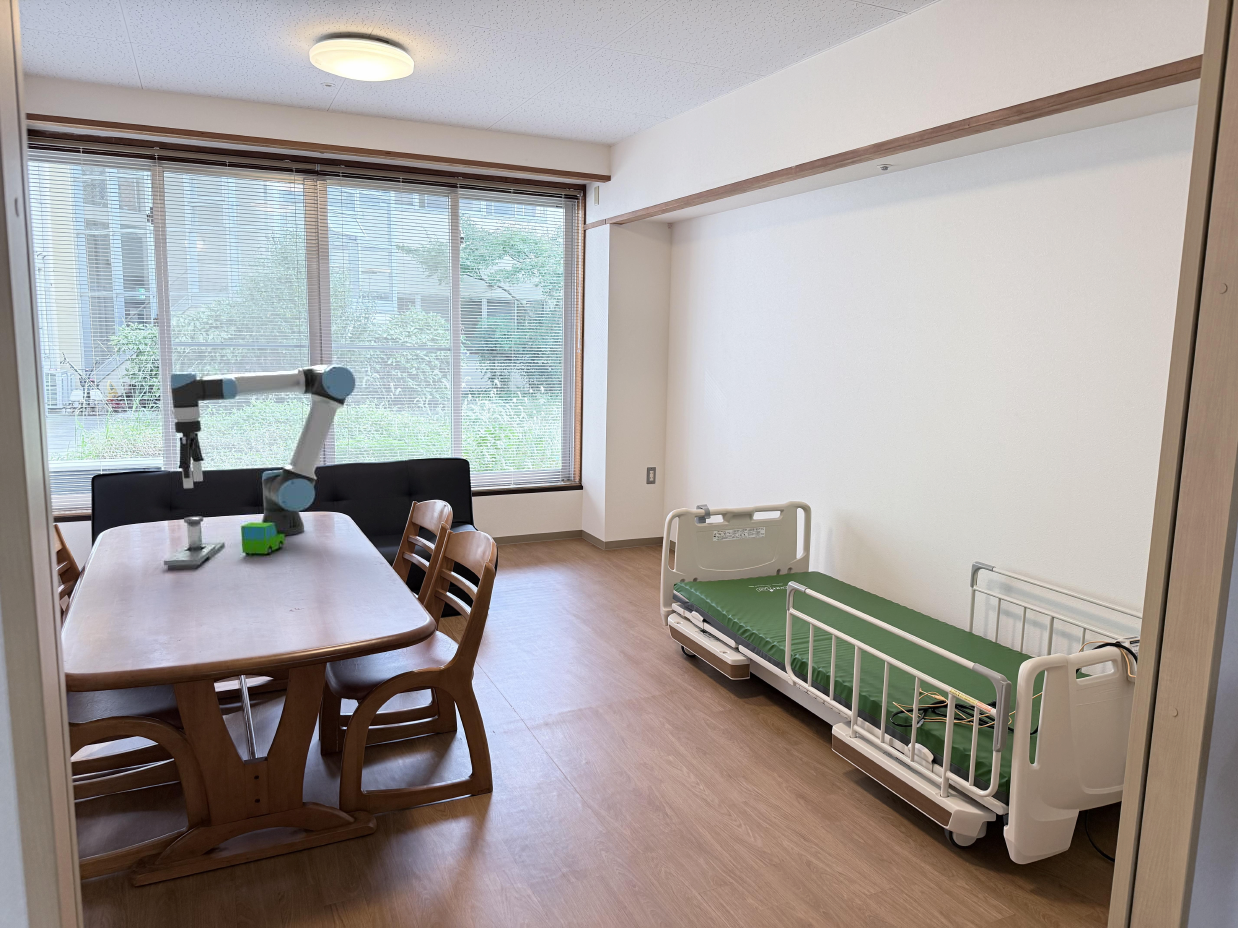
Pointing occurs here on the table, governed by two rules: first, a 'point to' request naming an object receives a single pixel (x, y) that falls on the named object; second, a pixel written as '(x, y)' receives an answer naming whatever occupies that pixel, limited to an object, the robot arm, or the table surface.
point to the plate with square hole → (192, 556)
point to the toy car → (261, 538)
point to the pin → (194, 533)
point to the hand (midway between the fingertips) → (193, 484)
